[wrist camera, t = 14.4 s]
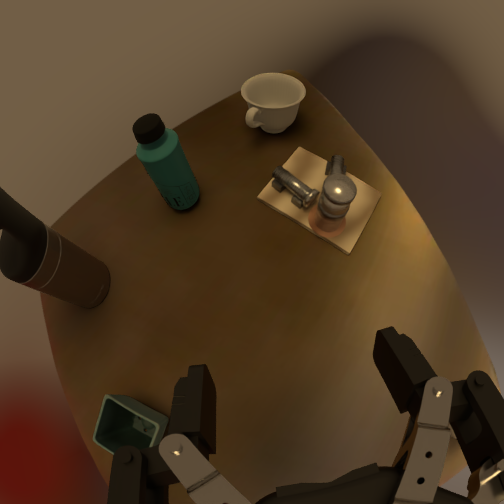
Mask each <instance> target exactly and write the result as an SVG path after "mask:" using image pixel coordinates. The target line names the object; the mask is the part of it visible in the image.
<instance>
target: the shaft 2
mask: <svg viewBox="0 0 504 504" xmlns="http://www.w3.org/2000/svg"><path fill="white" fill-rule="evenodd" d="M332 174H343V175H346V166H345V165H344V158H343V157H342V156H340V155H334V156H332V158H331V162H329V161H327V164H326V169H325V175H328V176H329V175H332ZM322 187H323V186H322ZM322 191H323V190H322ZM321 194H322V192H321Z"/></svg>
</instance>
